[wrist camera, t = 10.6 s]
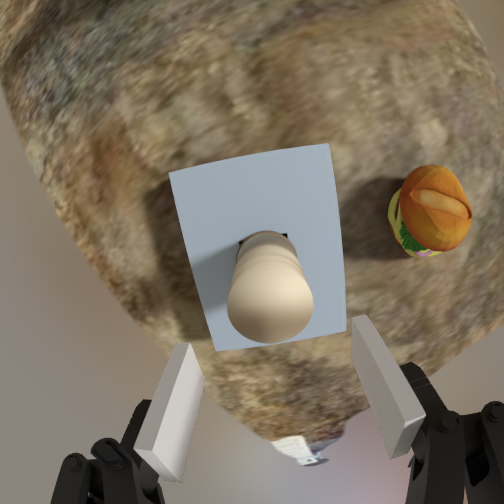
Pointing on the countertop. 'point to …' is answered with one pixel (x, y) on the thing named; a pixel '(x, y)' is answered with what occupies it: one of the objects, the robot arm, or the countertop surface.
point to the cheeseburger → (429, 212)
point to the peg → (269, 290)
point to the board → (263, 219)
